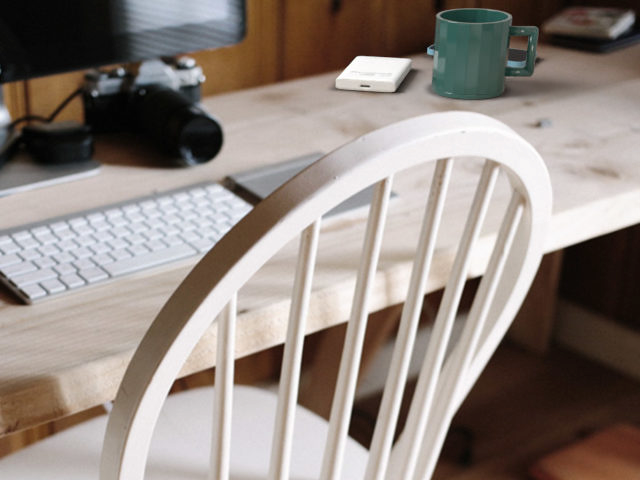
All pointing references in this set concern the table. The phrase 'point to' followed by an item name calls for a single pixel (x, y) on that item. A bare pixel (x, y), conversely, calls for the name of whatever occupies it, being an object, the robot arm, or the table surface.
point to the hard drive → (374, 74)
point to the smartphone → (514, 57)
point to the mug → (477, 53)
